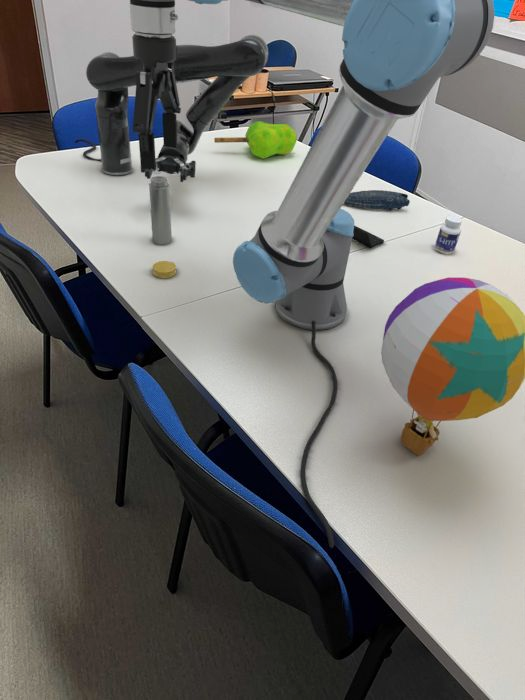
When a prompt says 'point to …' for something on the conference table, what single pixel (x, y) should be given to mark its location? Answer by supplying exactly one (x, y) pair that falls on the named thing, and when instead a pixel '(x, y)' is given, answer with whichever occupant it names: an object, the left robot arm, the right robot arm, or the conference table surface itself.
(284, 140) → the decorative tree
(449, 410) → the toy
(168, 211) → the grey metal canister
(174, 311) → the conference table surface
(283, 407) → the conference table surface
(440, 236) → the pill bottle
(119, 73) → the left robot arm
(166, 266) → the lid
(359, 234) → the handheld gaming console
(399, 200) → the fish model
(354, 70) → the right robot arm
